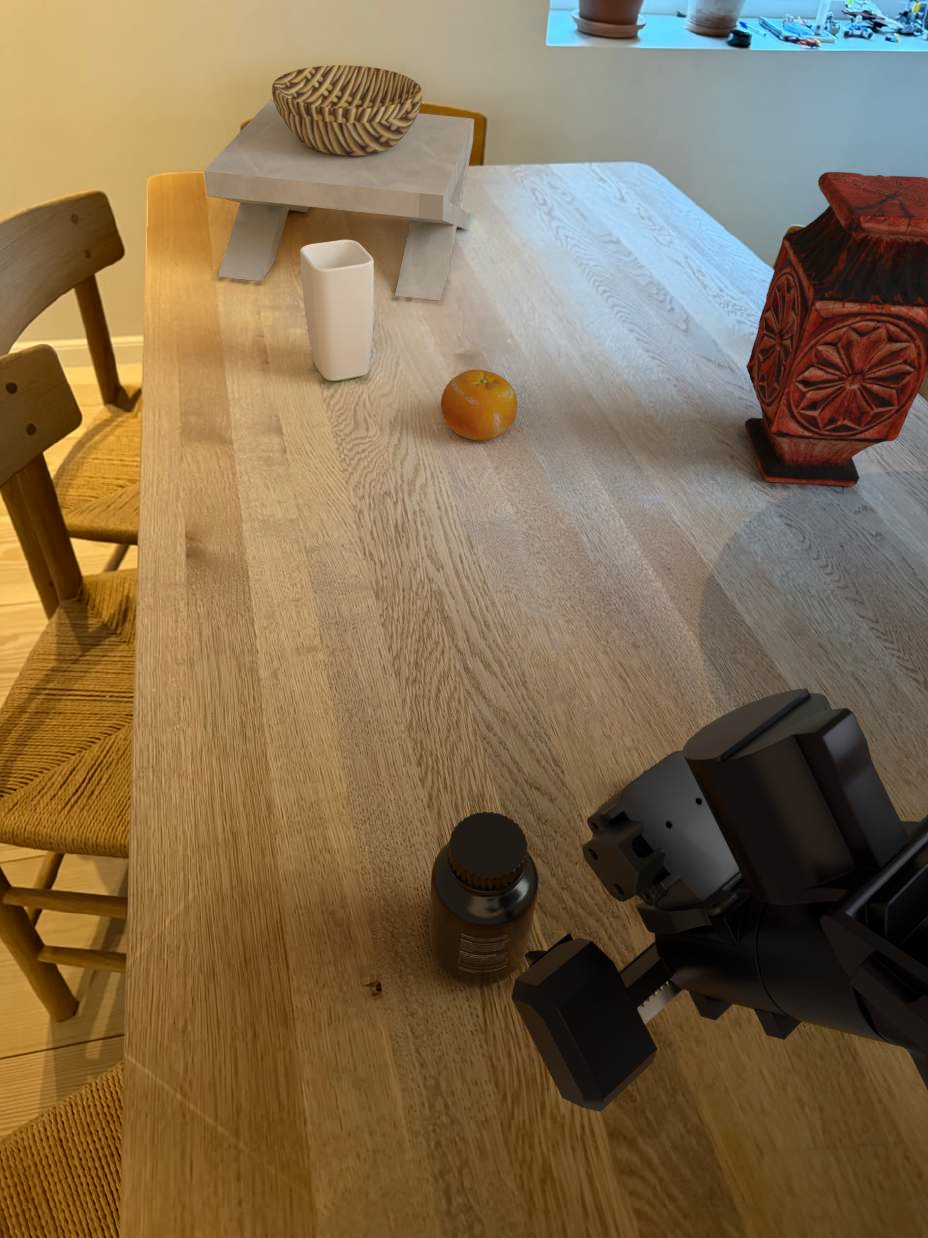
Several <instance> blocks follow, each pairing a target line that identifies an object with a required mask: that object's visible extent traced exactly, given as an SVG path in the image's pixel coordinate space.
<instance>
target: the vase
mask: <svg viewBox="0 0 928 1238" xmlns="http://www.w3.org/2000/svg"><path fill="white" fill-rule="evenodd" d="M817 182H818V183H817V185H818V188H819V190H820V192H821V193H822V195H823V196H824V198H825V200H826V201H827V203H828V206H827V208H826V209H825V210H824V211H823V212H822V213H821V214H819V215H818V216H817V217H816V218H815V219H814V220H813V221H811V222H809V223H808V224H807V225H805V226H804V227H802V228H800V229H798V230H795V231H792V232H788V233H786V234H785V235H784V236H783V237H782V241H781V245H780V250H779V255H778V257H777V262H776V263H775V264H776V265H775V268H774V270H773V274H772V278H771V280H770V282H769V285H768V288H767V289H768V290H767V293H766V296H765V297H766V298H765V302H764V305H763V308H762V311H761V314H760V316H759V317H760V318H759V320H758V327H757V333H756V336H755V339H754V341H753V346H752V348H751V353H750V356H749V359H748V362H747V363H746V366H745V367H746V370H747V373H748V375H749V379H750V382H751V384H752V388H753V391H754V392H755V394H756V399H757V401H758V403H759V406H760V409H761V417H751V418H748V419H747V420H745V423H744V428H745V432H746V435H747V437H748V439H749V442H750V444H751V448H752V450H753V453H754V457H755V460H756V463H757V466H758V468H759V469H758V470H759V471H760V474H761V475H762V478H763V479H764V481H767V482H769V483H784V484H787V483H788V484H801V485H802V484H805V485H817V486H818V485H819V486H838V487H839V486H840V487H848V488H849V487H853V486H855V485H857V484H858V482H859V480H860V476H859V473H858V470H857V467H856V465H855V461H854V459H853V457H855V456H856V455H858V454H859V453H860V452H862V451H864V450H866V449H868V448H870V447H872V446H875V445H877V444H881V443H885V442H893V441H895V440H897V439H898V436H899V435H900V433H901V431H902V428H903V426H904V424H905V421H906V419H907V417H908V414H909V412H910V411H911V408H912V406H913V403H914V401H915V399H916V398H917V396H918V394H919V391H920V389H921V387H922V384H923V381H924V379H925V377H926V375H927V373H928V177H924V176H906V175H887V176H885V175H881V174H878V175H864V174H862V173H858V172H846V171H827V172H826V171H825V172H824V173H822V174H821V175H820V176H819V177H818V180H817Z"/></svg>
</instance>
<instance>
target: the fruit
mask: <svg viewBox="0 0 928 1238" xmlns="http://www.w3.org/2000/svg"><path fill="white" fill-rule="evenodd" d="M440 410H441V414H442V417H443V419H444V421H445V423H446V425H447V426H448V427H449V428H450V429H451V430H452V431H453V432H454V433H456V434H458V435H459V436H461V437H463V438H466V439H468V440H471V441H489V440H492V439H495V438H497V437H499V436H501V435H503V434H505V433H506V432H507V431H508V430H509V429H510V428H511V426H512V425H513V423H514V422H515V420H516V417H517V413H518V397H517V394H516V391H515V390H514V388H513V386H512V385H511V384H510V382H509V381H508V380H507V379H505V378H504V377H503V376H501V375H499V374H498V373H495V372H494V371H493V372H492V371H488V370H484V369H469V370H466V371H463V372H460V373H458V375H455V376H454V377H452V379H450V381H449V382H448V383H446V386H445V388H444V389H443V392H442V395H441V399H440Z"/></svg>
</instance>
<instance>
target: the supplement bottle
mask: <svg viewBox="0 0 928 1238" xmlns="http://www.w3.org/2000/svg"><path fill="white" fill-rule="evenodd" d="M523 830H524V829H522V828H521V827H520V825H519V824H518V823H517V822H515V820H514V819H512V818H509V816H508V815H503V814H502V813H500V812H499V813H497V812H496V813H495V812H494V811H483V812H476V813H474V814H473V813H472V814H470V815H468V816H466V817H464V818H463V819H462V820H460V821H458V823H457V824H456V826H454V827H453V831H452V832H451V833H450V838H449V841H448V842H447V843H446V844H445V845H444V846H443V847H442V848H441V850H439V852H438V854H437V855H436V858H435V860H434V862H433V865H432V870H431V874H430V875H431V876H430V896H429V897H430V900H429V902H430V903H429V933H428V934H429V937H428V938H429V946H430V950H431V953H432V956H433V959H434V960H435V962H436V963H437V965H438V966H439V968H440V969H442V971H443V972H444V973H445V974H446V975H447V976H449V977H451V978H452V979H454V980H456V982H457V981H458V982H459V983H462V984H466V985H470V986H476V987H477V986H478V987H484V986H485V987H486V986H490V985H495V984H497V983H501V982H502V981H505V980H506V979H508V978H509V977H510V976H512V975H513V974H514V973H515V972H516V971H517V970H518V969H519V968H520V966H521V965H522V963H523V961H524V960H525V954H526V953H528V947H529V943H530V937H531V933H532V932H531V931H532V925H533V921H534V915H535V910H536V909H535V908H536V904H537V899H538V892H539V891H538V890H539V871H538V868H537V865H536V862H535V860H534V858H533V857H532V854H531V853H530V852H529V850H528V841H527V837H526V835H525V833H524V831H523Z"/></svg>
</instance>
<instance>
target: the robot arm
mask: <svg viewBox="0 0 928 1238" xmlns="http://www.w3.org/2000/svg"><path fill="white" fill-rule="evenodd" d="M861 727H862V726H861V725H860V724H859V721H858V719H857V717H856V715H855V712H853V711H852V710H850V709H849V708H848V707H841V708H840V707H839V708H832V706H831V704H830V702H829V700H828V698H827V696H826V695H823V694H821V693H816V692H810V691H809V689H808V688H807V687H803V688H796V689H791V690H786V691H781V692H778V693H775V694H772V695H771V694H770V695H768V696H764V697H762V698H759V699H757V700H754V701H751V702H748V703H746V704H744V705H742V706H738V707H737V708H735V709H732V710H731V711H729V712H727V713H725V714H723V715H720V716H719V717H718V718H716V719H714V720H713V721H711V722H710V723H708V724H706V725H705V726H703V727H702V728H701V729H699V730H698V731H696V732H695V733H694V734H693V735H692V736H691V737H690V738H689V739H688V740H687V741H686V742H685V744H684V745H683V747H682V749H681V750H675V751H673V752H671V753H669V754H667V755H666V756H665V757H663V758H662V759H661V760H659V761H658V762H657V763H655V764H654V765H653V766H651V767H650V768H649V769H646V770H645V771H646V772H644V773H642V774H640V775H639V776H637V777H636V778H635V779H633V780H632V781H631V782H629V783H628V784H626V785H625V786H624V787H623V788H621V789H620V790H619V791H617V792H616V793H615V794H614V795H612V796H611V797H610V798H608V799H607V800H606V801H605V802H603V803H602V804H601V805H600V806H599V807H597V809H596V811H595V812H593V813H592V814H590V816H588V817H587V819H586V823H587V826H588V828H589V830H590V831H591V833H592V837H591V839H590V840H588V841H587V842H585V844H583V845H582V854H583V858H584V859H583V860H584V861H585V862H586V863H587V864H588V866H589V867H590V869H591V870H592V872H593V873H594V874H595V876H596V877H597V878H598V880H599V881H600V883H601V884H602V885H603V887H604V888H605V889H606V891H607V893H608V894H609V895H610V896H611V897H612V898H614V899H615V900H617V901H619V902H621V903H625V902H627V901H629V900H631V899H633V898H634V897H635V896H638V897H639V898H640V899H641V900H642V902H640V903H639V904H638V905H637V906H636V907H635V908H636V911H637V912H638V914H639V916H640V919H641V921H642V922H643V924H644V926H645V928H646V930H647V932H649V933H652V934H654V941H653V942H651V943H650V944H649V945H648V946H647V947H646V948H645V949H643V951H641V952H640V953H639V954H638V955H636V956H635V957H634V958H633V959H632V960H631V961H629V962H628V963H627V964H626V965H625V966H623V968H621V969H620V970H618V968H617V965H616V964H615V962H614V961H613V959H612V958H610V956H608V954H606V953H605V952H604V951H603V950H602V949H601V948H600V947H599V946H598V945H597V944H596V943H595V942H594V941H593V940H592V939H586V938H581V937H577V938H574V937H573V935H572V934H571V933H570V932H568V933H567V934H565V936H563V937H562V938H561V939H559V940H558V941H557V942H555V943H554V944H553V945H552V946H551V947H549V948H548V949H547V950H543V949H539V950H538V949H537V950H529V951H527V952H526V954H525V957H524V959H525V960H526V962H527V964H528V968H527V969H526V970H525V971H524V972H522V973H521V974H520V975H518V976H517V977H516V978H515V979H514V983H513V988H512V992H511V1000H512V1002H513V1004H514V1006H515V1008H516V1010H517V1012H518V1015H519V1016H520V1018H521V1020H522V1022H523V1024H524V1026H525V1028H526V1030H527V1032H528V1033H529V1036H530V1037H531V1040H532V1042H533V1044H534V1045H535V1047H536V1049H537V1051H538V1053H539V1055H540V1057H541V1059H542V1061H543V1063H544V1065H545V1067H546V1069H547V1071H548V1073H549V1075H550V1077H551V1078H552V1081H553V1082H554V1084H555V1086H556V1088H557V1090H558V1092H559V1095H560V1096H561V1099H564V1100H566V1101H567V1102H570V1103H572V1104H574V1105H576V1106H578V1107H580V1108H582V1109H587V1110H591V1111H595V1112H599V1113H601V1112H602V1111H603V1110H605V1108H607V1107H608V1106H609V1105H610V1104H611V1103H612V1102H613V1101H614V1100H615V1099H616V1098H617V1097H619V1095H620V1094H621V1093H622V1092H624V1091H625V1090H626V1089H627V1088H628V1087H629V1086H630V1085H631V1084H632V1083H633V1082H634V1081H635V1080H636V1079H637V1078H639V1076H640V1075H641V1074H643V1072H645V1071H646V1070H647V1069H648V1068H649V1067H650V1066H651V1065H652V1064H653V1063H654V1061H655V1058H656V1055H657V1052H658V1047H657V1045H656V1043H655V1042H654V1039H653V1037H652V1036H651V1034H650V1031H649V1029H648V1027H647V1024H648V1023H649V1022H650V1021H652V1019H654V1018H655V1017H656V1016H657V1015H658V1014H659V1013H660V1012H662V1010H663V1009H664V1008H666V1007H667V1006H668V1005H669V1004H670V1003H671V1002H672V1001H673V1000H674V999H675V998H677V997H678V996H679V995H680V994H681V993H682V992H683V991H687V992H688V994H689V996H690V998H691V1000H692V1003H693V1004H694V1006H695V1008H696V1010H697V1011H698V1014H699V1016H700V1017H701V1018H705V1019H709V1020H712V1021H717V1020H718V1019H720V1017H722V1015H724V1013H726V1012H727V1011H728V1009H730V1008H731V1007H732V1006H733V1005H734V1006H739V1007H742V1008H747V1009H751V1010H753V1011H754V1012H755V1015H756V1017H757V1019H758V1021H759V1023H760V1026H761V1027H762V1029H763V1031H764V1033H765V1035H766V1036H769V1037H772V1038H776V1039H780V1040H783V1041H785V1040H786V1039H787V1038H788V1037H789V1036H790V1035H791V1034H792V1033H793V1032H794V1031H795V1030H796V1029H797V1027H799V1026H800V1025H801V1023H804V1024H805V1023H806V1024H809V1025H813V1026H817V1027H822V1028H825V1029H829V1030H833V1031H837V1032H841V1033H845V1034H849V1035H852V1036H857V1037H860V1038H863V1039H869V1040H871V1041H875V1042H879V1043H880V1042H881V1043H883V1044H887V1045H892V1046H895V1047H900V1048H903V1049H904V1050H906V1051H907V1053H908V1055H910V1057H911V1060H912V1062H913V1064H914V1066H915V1068H916V1070H917V1071H918V1074H919V1077H920V1078H921V1080H922V1082H923V1084H924V1086H925V1088H926V1090H927V1091H928V814H926V815H925V816H924V817H923V818H922V819H921V820H920V821H919V820H918V821H917V820H914V821H913V820H901V819H900V817H899V815H898V813H897V810H896V808H895V806H894V804H893V802H892V799H891V798H890V795H889V794H888V792H887V789H886V787H885V786H884V783H883V781H882V779H881V777H880V775H879V773H878V771H877V769H876V766H875V764H874V762H873V760H872V757H871V752H870V748H869V744H868V741H867V738H866V735H865V733H864V731H863V730H862V728H861Z"/></svg>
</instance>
